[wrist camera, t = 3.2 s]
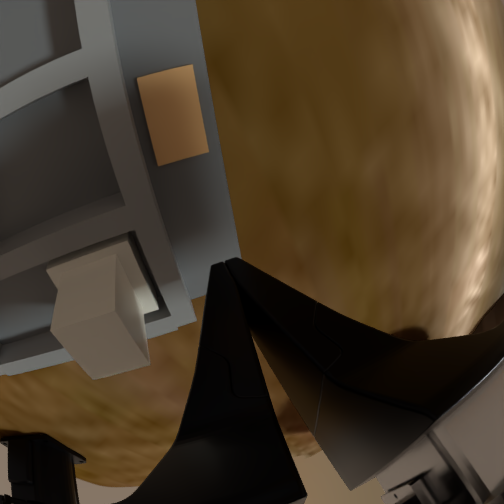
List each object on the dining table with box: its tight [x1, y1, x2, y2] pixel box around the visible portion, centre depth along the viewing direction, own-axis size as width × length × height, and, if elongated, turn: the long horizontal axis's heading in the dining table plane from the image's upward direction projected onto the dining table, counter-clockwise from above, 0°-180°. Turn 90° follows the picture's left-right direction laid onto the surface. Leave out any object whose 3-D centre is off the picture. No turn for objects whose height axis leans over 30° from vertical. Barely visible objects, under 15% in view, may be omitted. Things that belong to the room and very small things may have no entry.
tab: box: [46, 231, 159, 380], centre depth 9 cm, size 3×3×4 cm
